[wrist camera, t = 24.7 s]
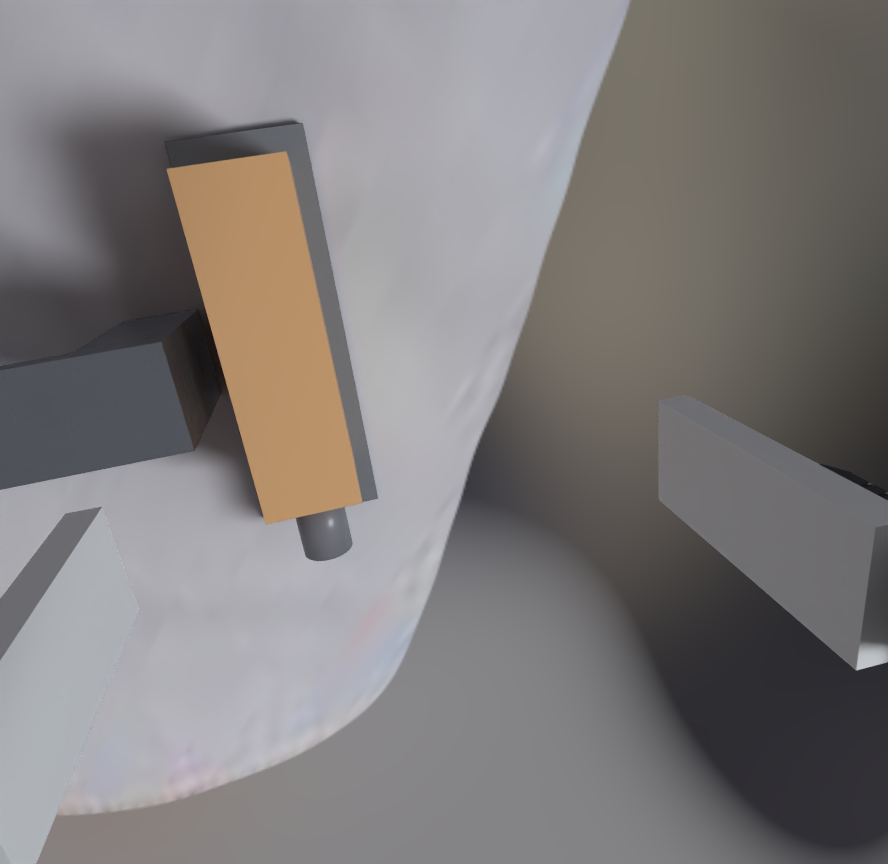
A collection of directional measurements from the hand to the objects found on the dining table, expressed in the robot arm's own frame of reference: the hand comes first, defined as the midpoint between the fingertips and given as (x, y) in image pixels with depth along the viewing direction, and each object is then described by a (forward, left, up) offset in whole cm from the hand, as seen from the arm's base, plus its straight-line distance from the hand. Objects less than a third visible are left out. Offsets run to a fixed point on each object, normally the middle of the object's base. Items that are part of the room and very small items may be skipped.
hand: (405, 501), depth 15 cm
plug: (+1, -4, -24) cm, 24 cm away
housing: (0, -16, -25) cm, 29 cm away
